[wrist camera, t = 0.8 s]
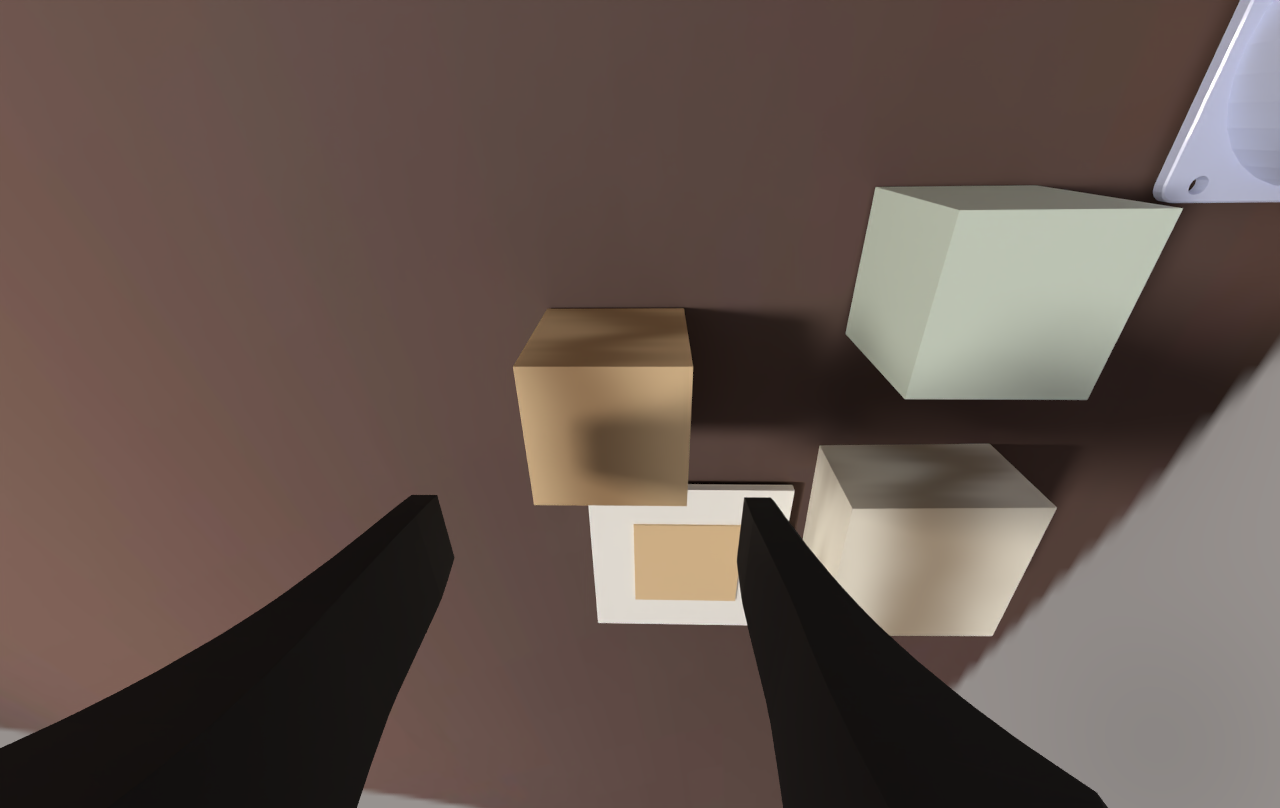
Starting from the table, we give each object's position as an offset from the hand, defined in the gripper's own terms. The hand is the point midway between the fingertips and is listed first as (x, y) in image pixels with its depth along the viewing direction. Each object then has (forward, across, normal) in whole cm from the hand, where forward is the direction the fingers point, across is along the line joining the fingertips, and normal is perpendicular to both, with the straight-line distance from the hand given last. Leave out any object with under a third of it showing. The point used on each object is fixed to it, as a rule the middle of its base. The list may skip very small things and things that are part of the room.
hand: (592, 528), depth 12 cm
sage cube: (+9, -11, -4) cm, 15 cm away
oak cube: (+9, 0, 0) cm, 9 cm away
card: (+8, -3, +10) cm, 13 cm away
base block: (+9, -12, +7) cm, 17 cm away
